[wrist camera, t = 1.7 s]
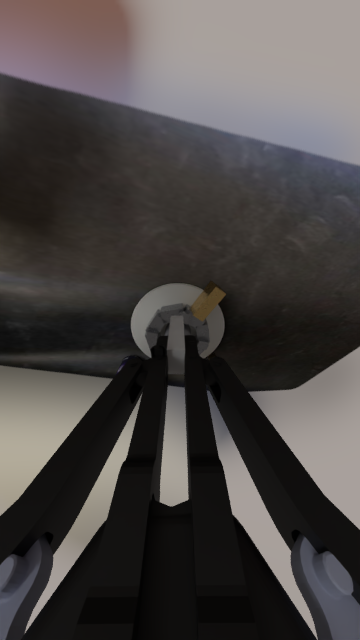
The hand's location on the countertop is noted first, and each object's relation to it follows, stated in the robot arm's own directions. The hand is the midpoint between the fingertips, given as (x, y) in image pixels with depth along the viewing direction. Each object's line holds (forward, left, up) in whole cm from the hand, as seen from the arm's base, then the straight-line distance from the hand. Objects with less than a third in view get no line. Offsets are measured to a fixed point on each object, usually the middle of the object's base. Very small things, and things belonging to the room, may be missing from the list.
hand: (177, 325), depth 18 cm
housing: (+5, -8, -16) cm, 18 cm away
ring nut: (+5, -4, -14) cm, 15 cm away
